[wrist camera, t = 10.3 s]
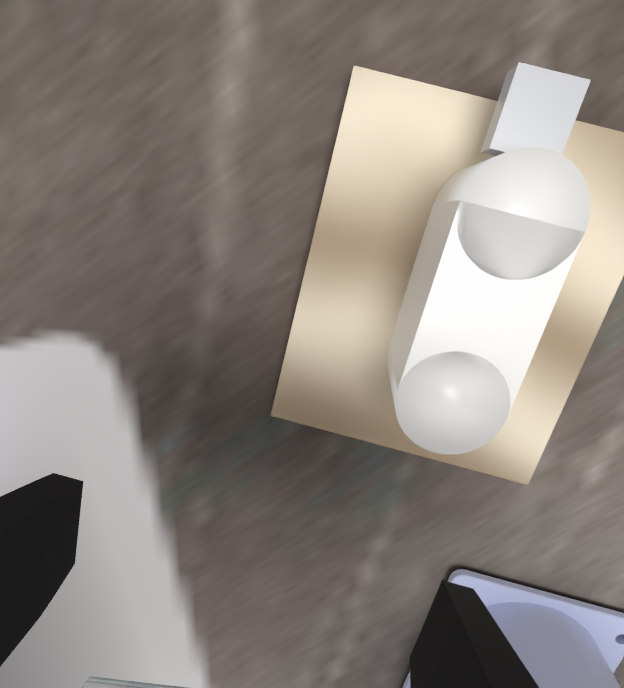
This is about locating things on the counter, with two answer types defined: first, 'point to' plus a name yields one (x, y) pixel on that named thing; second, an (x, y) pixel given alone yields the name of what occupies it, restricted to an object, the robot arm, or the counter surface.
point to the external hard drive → (120, 684)
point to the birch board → (399, 257)
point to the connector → (490, 268)
